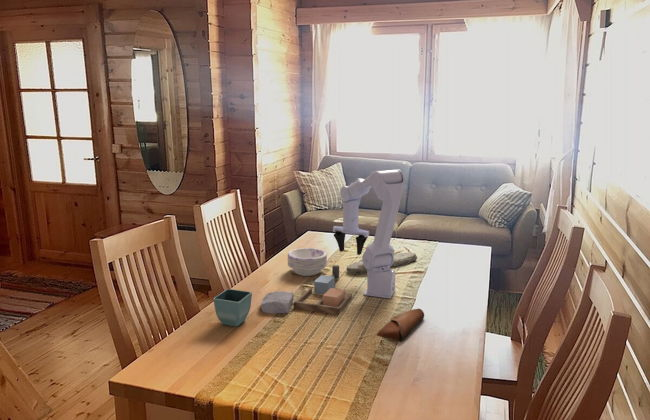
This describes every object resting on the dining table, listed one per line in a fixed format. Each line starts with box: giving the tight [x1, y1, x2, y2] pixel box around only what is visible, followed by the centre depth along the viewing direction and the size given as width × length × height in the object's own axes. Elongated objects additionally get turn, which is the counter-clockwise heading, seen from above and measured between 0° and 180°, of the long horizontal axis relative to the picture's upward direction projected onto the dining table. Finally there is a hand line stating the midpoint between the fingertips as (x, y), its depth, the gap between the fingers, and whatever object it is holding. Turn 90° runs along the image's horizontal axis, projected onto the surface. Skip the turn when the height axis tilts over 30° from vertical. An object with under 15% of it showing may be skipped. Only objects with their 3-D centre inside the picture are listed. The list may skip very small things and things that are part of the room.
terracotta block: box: [322, 287, 346, 307], centre depth 170 cm, size 5×7×4 cm
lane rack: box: [293, 288, 353, 316], centre depth 172 cm, size 15×14×2 cm
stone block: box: [260, 290, 294, 314], centre depth 170 cm, size 12×5×10 cm
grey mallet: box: [313, 264, 340, 296], centre depth 187 cm, size 5×17×5 cm, turn 160°
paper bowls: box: [287, 247, 328, 277], centre depth 201 cm, size 15×15×8 cm
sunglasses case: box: [376, 308, 425, 343], centre depth 154 cm, size 18×7×7 cm
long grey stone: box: [346, 252, 418, 275], centre depth 208 cm, size 35×5×10 cm
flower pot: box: [212, 288, 253, 328], centre depth 157 cm, size 9×9×9 cm
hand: (350, 252), depth 195 cm, fingers open, 7 cm apart
